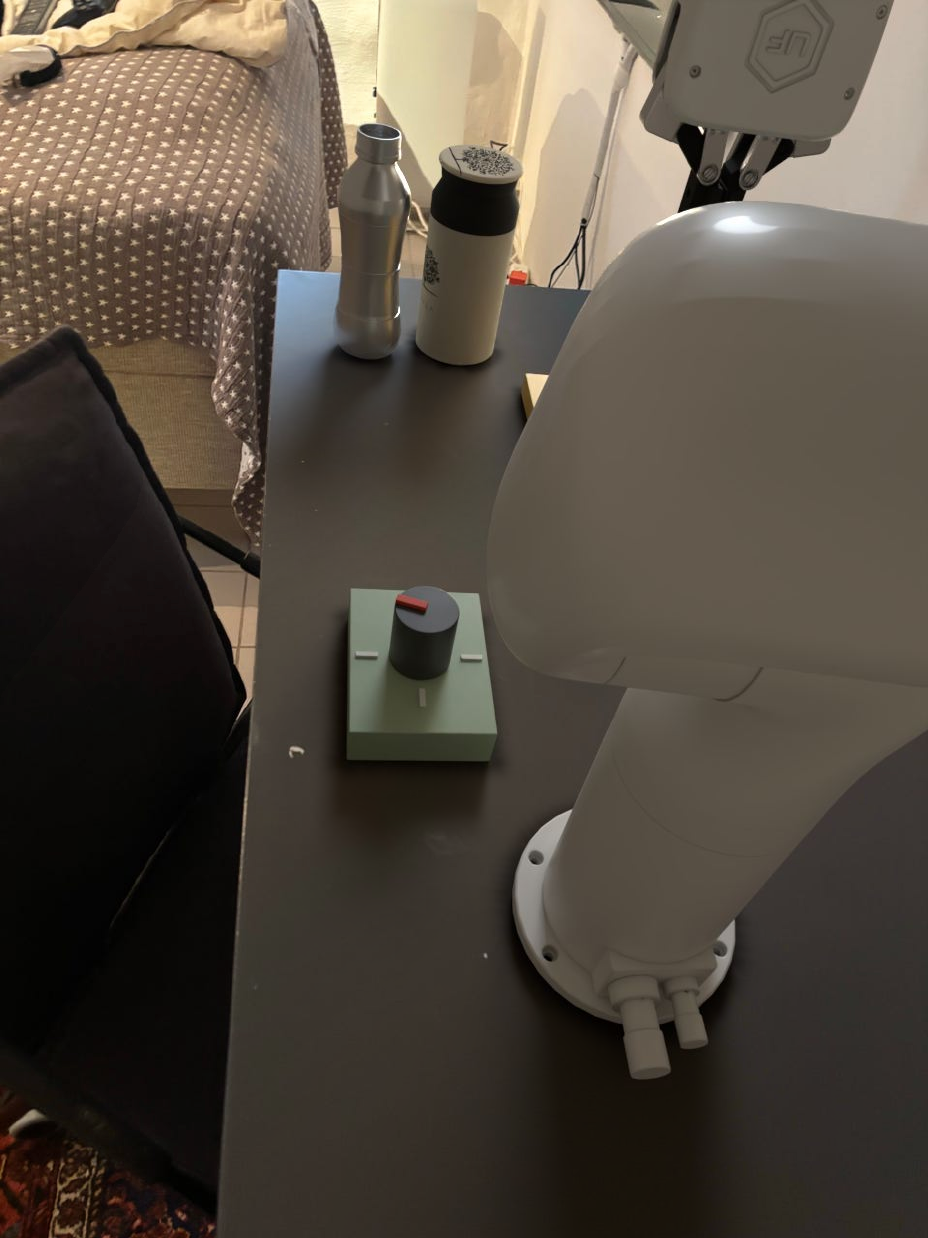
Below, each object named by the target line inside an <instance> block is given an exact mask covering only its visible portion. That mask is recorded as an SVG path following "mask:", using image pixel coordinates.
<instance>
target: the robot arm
mask: <svg viewBox="0 0 928 1238" xmlns="http://www.w3.org/2000/svg"><path fill="white" fill-rule="evenodd" d="M894 2H895V0H671V3H670V6H669V9H668V11H667V15H666V18H665V21H664V24H663V28H662V31H661V35H660V38H659V41H658V44H657V45H658V46H657V49H656V54H655V56H654V57H655V58H654V61H653V66H652V73H651V82H652V87H651V89H650V91H649V93H648V95H647V97H646V99H645V101H644V103H643V105H642V107H641V110H640V111H639V116H638V118H639V121H640V123H641V125H642V127H643V128H644V130H645V131H646V132H647V133H649V134H652V135H654V136H656V137H658V138H661V139H663V140H664V141H667V142H670V143H673V144H675V145H678V147H679V149H680V151H681V152H682V154H683V157H684V158H685V161H686V163H687V165H688V166H689V168H690V171H689V174H688V177H687V180H686V183H685V186H684V191H683V193H682V196H681V200H680V203H679V206H678V209H677V212H676V214H674V215H671V216H669V217H667V218H665V219H662V220H660V221H659V222H657V223H655V224H654V225H652V226H651V227H649V228H647V229H646V230H644V231H642V232H641V233H638V234H637V235H636V236H635V237H634V238H633V239H632V240H631V241H630V242H629V243H627V244H626V245H625V246H624V247H623V248H622V249H621V250H620V251H618V253H617V254H616V255H615V256H614V257H613V258H612V260H611V261H610V262H609V264H608V265H607V266H606V267H605V269H604V270H603V271H602V273H601V274H600V276H599V278H598V279H597V280H596V282H595V283H594V285H593V287H592V289H591V290H590V291H589V294H588V296H587V297H586V298H585V301H584V303H582V304H583V305H582V306H581V308H580V310H579V312H578V313H577V315H576V317H575V319H574V321H573V322H572V324H571V326H570V328H569V331H568V333H567V335H566V338H564V341H563V344H562V346H561V348H560V350H559V352H558V355H557V356H556V359H555V361H554V363H553V365H552V367H551V370H550V372H549V374H548V375H549V376H548V378H547V380H546V382H545V385H544V387H543V389H542V391H541V393H540V395H539V397H538V400H537V402H536V404H535V406H534V408H533V410H532V412H531V415H530V417H529V419H528V421H527V420H526V423H525V426H524V428H523V430H522V432H521V434H520V436H519V438H518V440H517V442H516V444H515V446H514V449H513V450H512V453H511V456H510V458H509V461H508V463H507V466H506V468H505V470H504V473H503V476H502V478H501V481H500V484H499V487H498V490H497V493H496V496H495V499H494V503H493V507H492V511H491V515H490V520H489V521H490V522H489V526H488V533H487V540H486V548H485V581H486V589H487V595H488V601H489V602H488V603H489V606H490V610H491V613H492V617H493V620H494V622H495V626H496V628H497V631H498V633H499V636H500V637H501V639H502V641H503V643H504V645H505V646H506V648H507V649H508V650H509V652H510V653H511V654H512V655H513V656H514V658H515V659H517V660H518V661H519V662H520V663H521V664H523V665H524V666H525V667H527V668H529V669H530V670H531V671H534V672H537V673H539V674H542V675H544V676H549V677H551V678H556V679H562V680H568V681H574V682H583V683H588V684H589V683H590V684H597V685H598V684H599V685H605V686H613V687H620V688H626V690H625V692H624V694H623V696H622V698H621V700H620V703H619V705H618V707H617V709H616V711H615V714H614V716H613V718H612V719H611V722H610V724H609V726H608V729H607V731H606V733H605V735H604V738H603V740H602V741H601V744H600V746H599V748H598V750H597V754H596V755H595V758H594V760H593V761H592V764H591V766H590V769H589V771H588V774H587V775H586V778H585V780H584V782H583V785H582V786H581V789H580V791H579V793H578V796H577V798H576V800H575V803H574V805H573V807H572V808H571V809H569V810H567V811H564V812H563V813H561V814H559V815H556V816H554V817H553V818H552V819H550V820H549V821H548V822H546V823H544V825H542V826H541V827H540V828H539V829H538V831H536V833H535V834H534V835H533V836H532V837H531V839H530V840H529V841H528V843H527V844H526V846H525V848H524V850H523V851H522V854H521V856H520V858H519V861H518V863H517V866H516V869H515V873H514V879H513V884H512V888H511V889H512V890H511V899H512V900H511V901H512V902H511V903H512V915H513V919H514V924H515V928H516V932H517V935H518V938H519V940H520V943H521V945H522V946H523V950H524V951H525V954H526V955H527V957H528V959H529V960H530V961H531V964H533V967H534V968H535V969H536V971H537V972H538V974H539V975H540V976H541V977H542V978H543V979H544V980H545V981H546V982H547V984H548V985H549V986H550V987H551V988H552V989H553V990H554V991H555V992H556V993H558V994H559V995H560V996H561V997H563V998H564V999H565V1000H567V1001H568V1002H569V1003H571V1004H572V1005H573V1006H574V1007H576V1008H579V1009H580V1010H582V1011H584V1012H586V1013H587V1014H590V1015H592V1016H593V1017H596V1018H599V1019H602V1020H604V1021H605V1020H606V1021H609V1022H612V1023H615V1024H620V1025H622V1026H623V1027H622V1028H623V1033H624V1036H623V1037H622V1040H623V1044H624V1049H625V1055H626V1059H627V1064H628V1070H629V1075H630V1077H631V1078H632V1079H634V1080H653V1079H658V1078H661V1077H664V1076H667V1075H669V1074H670V1073H671V1071H672V1068H671V1064H670V1059H669V1055H668V1050H667V1047H666V1042H665V1041H666V1040H665V1037H664V1033H663V1030H662V1029H660V1025H663V1024H667V1023H669V1022H673V1023H674V1027H675V1030H676V1034H677V1039H678V1044H679V1048H681V1049H683V1050H693V1049H699V1048H702V1047H705V1046H707V1045H708V1044H709V1039H708V1035H707V1031H706V1028H705V1023H704V1020H703V1019H704V1018H703V1016H702V1014H700V1009H699V1008H700V1007H701V1006H702V1005H703V1004H704V1003H705V1002H706V1001H707V1000H708V999H709V998H710V997H711V996H712V995H713V994H714V993H715V992H716V990H717V989H718V988H719V986H720V984H722V982H723V981H724V979H725V977H726V975H727V973H728V971H729V969H730V967H731V964H732V962H733V955H734V951H735V946H736V918H737V917H738V916H739V914H741V912H742V911H743V910H744V908H746V906H747V905H748V904H749V903H750V901H751V900H752V899H753V898H754V897H755V896H756V895H757V893H758V892H759V891H760V890H762V887H763V886H765V884H766V883H767V882H768V881H769V880H770V878H772V876H773V875H774V874H775V872H777V870H778V869H779V868H780V867H781V865H782V864H783V863H784V862H785V861H786V859H787V858H788V857H789V856H790V855H791V854H792V853H793V851H795V849H796V848H797V847H798V846H799V845H800V843H801V842H802V841H803V840H804V839H805V838H806V837H807V836H808V835H809V834H810V832H811V831H812V830H813V829H814V828H815V827H816V825H817V824H819V822H820V821H821V820H822V819H823V817H824V816H825V815H826V814H827V813H828V812H829V811H830V809H831V808H832V807H833V806H834V805H835V804H836V803H837V802H838V801H839V799H841V798H842V796H843V795H844V794H845V793H846V792H847V791H848V790H850V788H851V787H852V786H853V785H854V784H855V783H856V782H857V781H859V780H860V779H861V778H862V777H863V776H865V774H867V772H869V771H870V770H871V769H873V768H874V767H875V766H876V765H877V764H879V763H880V762H882V761H883V760H884V759H886V758H887V757H888V756H890V755H892V754H893V753H895V752H896V751H898V750H900V749H901V748H902V747H903V746H905V745H907V744H908V743H910V742H912V741H913V740H915V739H916V738H918V737H919V736H921V735H922V734H923V733H925V732H927V731H928V223H923V222H916V221H909V220H901V219H895V218H890V217H884V216H878V215H873V214H867V213H861V212H856V211H849V210H844V209H838V208H832V207H826V206H825V207H824V206H817V205H810V204H803V203H792V202H778V201H768V200H744V199H745V196H746V193H747V191H751V190H753V189H755V188H756V187H757V186H758V185H759V184H760V182H761V180H762V178H763V176H764V175H766V174H768V173H769V172H771V171H772V170H773V169H775V168H777V167H778V166H779V165H781V164H782V163H783V162H785V161H786V160H787V159H789V158H793V159H798V158H804V157H810V156H818V155H822V154H824V153H826V152H827V151H828V150H829V149H830V146H831V144H832V143H831V141H832V139H833V138H835V137H837V136H838V135H840V134H841V133H843V131H844V130H845V129H846V128H847V126H848V124H849V123H850V121H851V119H852V117H853V115H854V113H855V111H856V108H857V107H858V104H859V101H860V99H861V96H862V94H863V92H864V89H865V85H866V83H867V81H868V78H869V76H870V73H871V70H872V67H873V64H874V62H875V59H876V56H877V54H878V51H879V49H880V48H879V47H880V46H881V41H882V38H883V36H884V33H885V30H886V27H887V25H888V21H889V18H890V16H891V13H892V9H893V6H894ZM730 132H734V133H737V134H736V137H735V139H734V141H733V143H732V145H731V147H730V149H729V151H728V153H727V156H726V158H725V161H724V157H725V152H726V148H727V143H728V137H729V133H730ZM545 957H548V958H549V959H550V961H549V960H547V959H546V958H545Z"/></svg>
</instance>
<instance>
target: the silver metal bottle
mask: <svg viewBox="0 0 928 1238" xmlns="http://www.w3.org/2000/svg"><path fill="white" fill-rule="evenodd" d="M401 147H402V132H401V131H400V130H399V129H398V128H395V127H394V126H390V125H389V124H383V123H376V122H367V123H362V124H359V125H358V126H357V129H356V138H355V144H354V150H353V151H354V154H355V155H356V156H357V158H356V159H355V160H354V161H353V162H352V164H351V165H349V167H348V168H347V170H346V171H345V172H344V174H343V176H342V177H341V178H340V179H339V180H340V181H339V184H338V187H337V189H336V190H337V191H336V203H337V212H338V222H339V231H340V254H341V257H340V258H341V262H340V263H341V264H340V265H341V268H340V275H339V277H340V278H339V286H338V294H337V299H336V303H335V307H334V312H333V317H332V327H333V334H334V339H335V341H336V342H337V344H338V345H339V347H340V348H341V349H342V350H343V352H345V353H347V354H348V355H350V356H352V357H356V358H359V359H363V360H379V359H383V358H386V357H388V356H390V355H391V354H392V353H393V352H394V351H395V350H396V349H397V347H398V346H399V342H400V339H401V335H402V315H401V313H402V312H401V308H400V271H401V262H402V256H403V248H404V242H405V238H406V233H407V228H408V225H409V221H410V215H411V212H412V211H411V210H412V204H413V200H412V194H411V190H410V187H409V184H408V182H407V180H406V177H405V176H404V174H403V172H402V170H401V169H400V167H399V165H398V162H399V161H400V160H401V159H402V149H401Z"/></svg>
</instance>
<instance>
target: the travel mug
mask: <svg viewBox="0 0 928 1238" xmlns="http://www.w3.org/2000/svg"><path fill="white" fill-rule="evenodd" d="M438 162H439V164H440V167H441V177H440V178H439V180H438V182H437V183H436V184H435V186H434V187H433V189H432V192H431V198H430V208H429V216H428V225H427V234H426V243H425V251H424V252H425V253H424V260H423V268H422V269H423V270H422V279H421V285H420V295H419V304H418V313H417V322H416V331H415V343H416V346H417V347H418V349H419V350H420V351H421V352H422V353H423V354H424V355H426V356H427V357H430V358H431V359H433V360H436V361H438V362H441V363H445V364H448V365H452V366H453V365H455V366H470V365H476V364H480V363H483V362H485V361H487V360H488V359H490V357H491V356H492V355H493V353H494V347H495V344H496V343H495V342H496V338H497V331H498V326H499V321H500V315H501V311H502V306H503V305H502V304H503V301H504V294H505V289H506V284H507V280H508V279H507V278H508V273H509V267H510V261H511V256H512V251H513V246H514V241H515V235H516V231H517V224H518V219H519V213H520V205H521V204H520V202H519V198H518V195H517V191H516V188H517V185H518V182H519V180H520V179H521V178H522V176H523V175H524V166H523V164H522V163H521V162H520V160H519V159H517V158H516V157H514V156H513V155H512V154H509V153H507V152H505V151H502V150H499V149H497V148H493V147H488V146H483V145H476V144H475V145H474V144H457V145H456V144H455V145H452V146H448V147H446V148H444V149H443V150H441V151H440V153H439V155H438Z"/></svg>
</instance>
